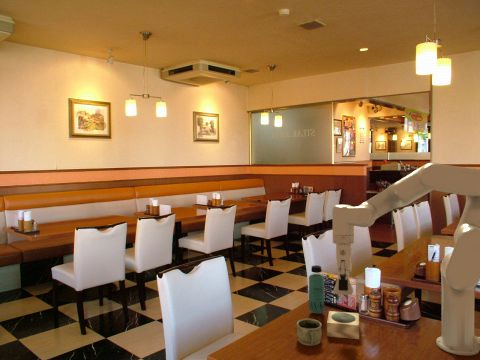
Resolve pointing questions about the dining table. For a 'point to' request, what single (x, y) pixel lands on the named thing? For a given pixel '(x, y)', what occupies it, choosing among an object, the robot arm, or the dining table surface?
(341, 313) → the pedestal
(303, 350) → the dining table surface
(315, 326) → the vessel
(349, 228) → the robot arm
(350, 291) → the flask
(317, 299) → the beverage bottle
